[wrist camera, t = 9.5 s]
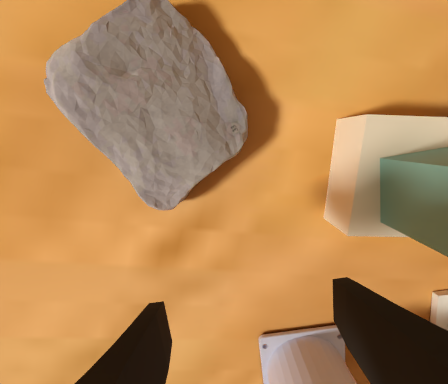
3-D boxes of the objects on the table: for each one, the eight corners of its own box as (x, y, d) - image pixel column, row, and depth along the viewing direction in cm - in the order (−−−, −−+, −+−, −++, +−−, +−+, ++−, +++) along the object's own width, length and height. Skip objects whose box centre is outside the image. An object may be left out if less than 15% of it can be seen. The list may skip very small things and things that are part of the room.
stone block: (161, 10, 18) (53, 91, 17) (157, -45, 13) (7, 64, 12) (254, 136, 20) (165, 212, 19) (278, 129, 16) (163, 227, 15)
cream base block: (412, 218, 20) (459, 237, 16) (321, 216, 20) (347, 236, 16) (433, 123, 18) (492, 118, 15) (334, 119, 18) (367, 114, 14)
